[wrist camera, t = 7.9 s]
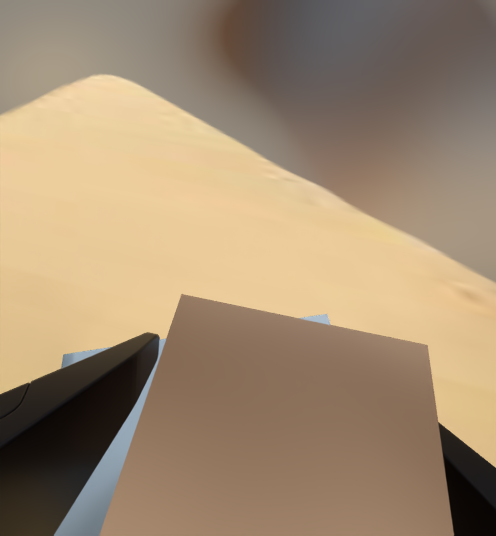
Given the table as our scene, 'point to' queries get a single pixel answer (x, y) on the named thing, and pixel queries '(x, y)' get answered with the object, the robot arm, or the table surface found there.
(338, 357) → the brown wooden block
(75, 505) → the book
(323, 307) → the table surface
